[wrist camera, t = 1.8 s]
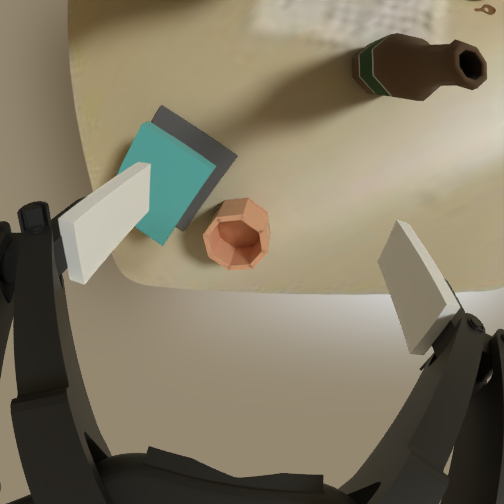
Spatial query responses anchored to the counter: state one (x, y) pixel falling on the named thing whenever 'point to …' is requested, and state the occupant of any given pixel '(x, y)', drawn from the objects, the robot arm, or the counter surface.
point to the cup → (238, 234)
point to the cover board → (166, 178)
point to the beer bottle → (417, 67)
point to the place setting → (490, 8)
